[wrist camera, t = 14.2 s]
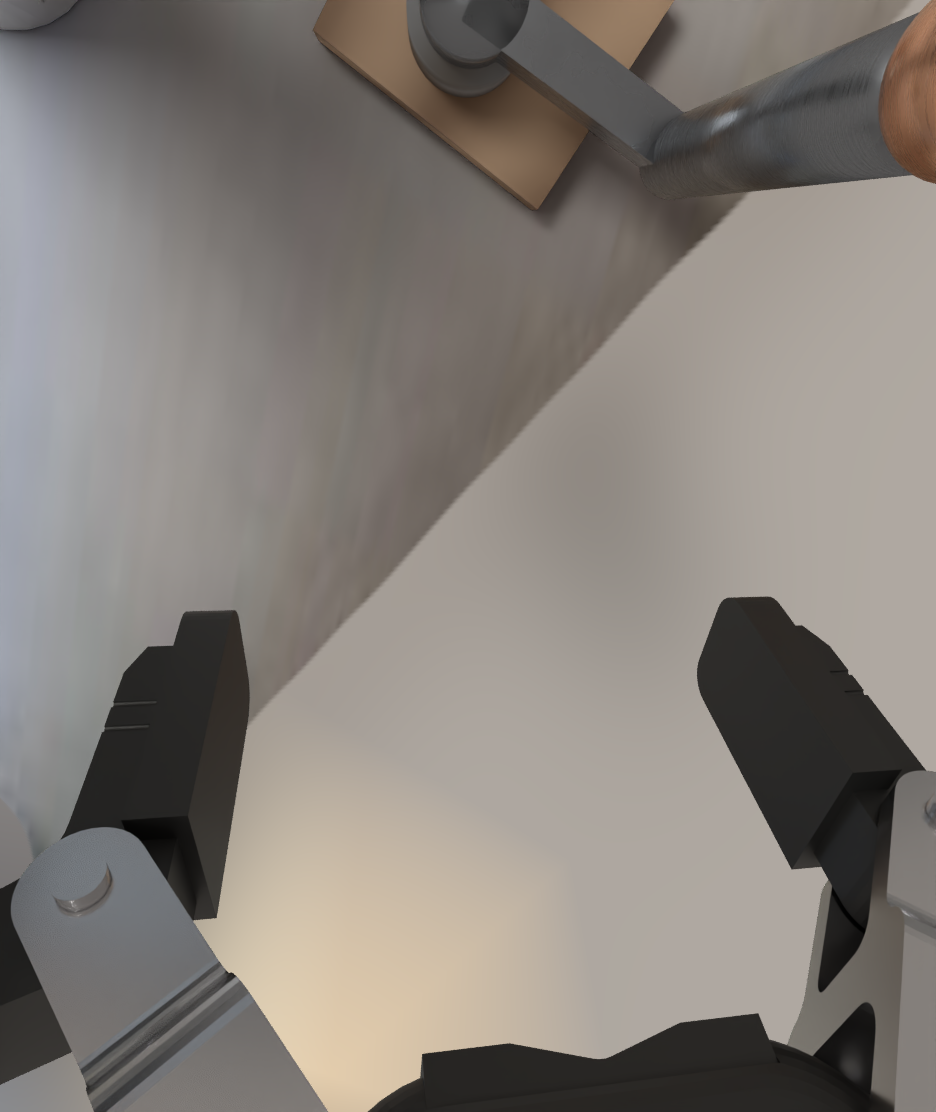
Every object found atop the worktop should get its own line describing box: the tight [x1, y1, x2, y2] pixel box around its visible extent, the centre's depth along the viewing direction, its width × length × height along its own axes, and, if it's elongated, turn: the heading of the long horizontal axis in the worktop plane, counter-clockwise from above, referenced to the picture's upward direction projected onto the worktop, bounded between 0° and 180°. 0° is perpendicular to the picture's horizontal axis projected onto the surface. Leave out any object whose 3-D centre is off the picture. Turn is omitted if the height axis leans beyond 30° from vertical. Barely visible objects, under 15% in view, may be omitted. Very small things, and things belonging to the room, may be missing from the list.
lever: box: [419, 0, 936, 200], centre depth 19 cm, size 14×4×20 cm, turn 59°
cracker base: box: [313, 0, 674, 210], centre depth 29 cm, size 12×10×5 cm
